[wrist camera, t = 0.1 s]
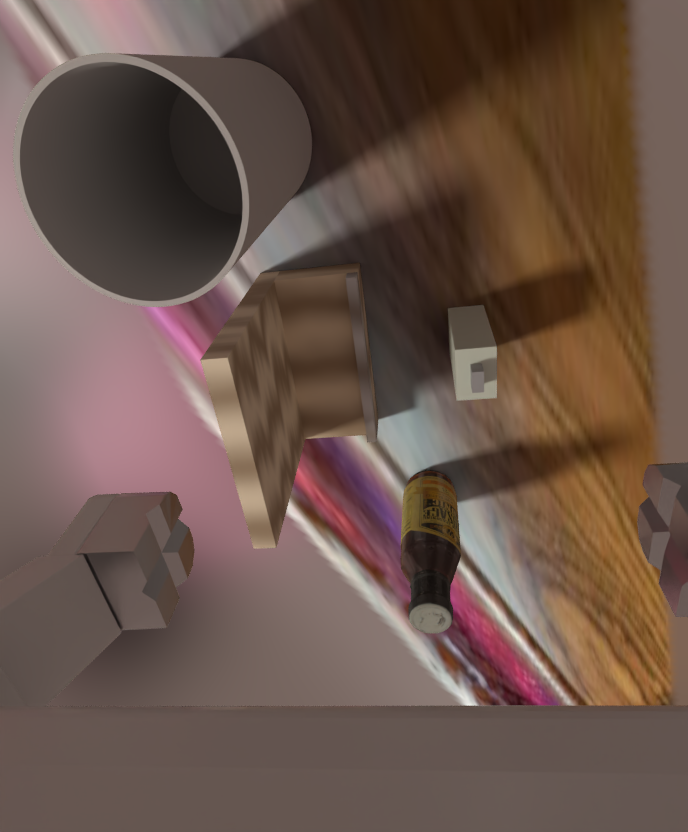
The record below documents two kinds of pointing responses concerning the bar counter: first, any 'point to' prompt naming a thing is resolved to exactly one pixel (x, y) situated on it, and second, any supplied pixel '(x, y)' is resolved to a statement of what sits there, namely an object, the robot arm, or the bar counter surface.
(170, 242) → the cylinder vase
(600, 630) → the bar counter surface
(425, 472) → the sauce bottle
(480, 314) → the beige block
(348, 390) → the back board shelf
